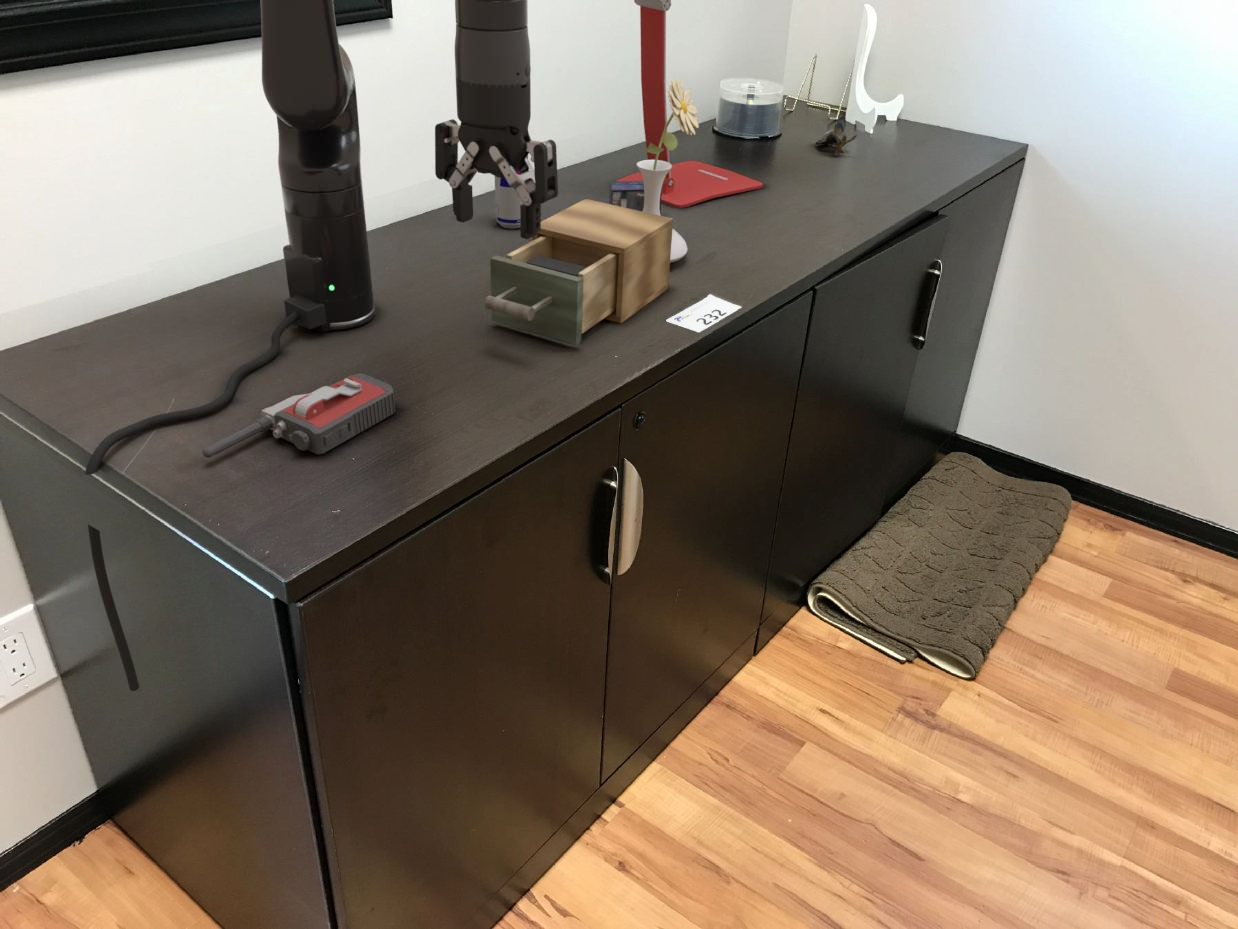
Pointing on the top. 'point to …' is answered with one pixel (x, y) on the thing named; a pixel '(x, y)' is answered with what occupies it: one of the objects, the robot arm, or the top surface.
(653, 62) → the desk lamp
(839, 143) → the eagle figurine
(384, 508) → the top surface
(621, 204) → the mini dv tape
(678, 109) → the flower in vase
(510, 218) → the beverage can
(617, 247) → the cabinet
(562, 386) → the top surface
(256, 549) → the top surface
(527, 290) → the drawer
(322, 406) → the walkie-talkie
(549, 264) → the small black box
